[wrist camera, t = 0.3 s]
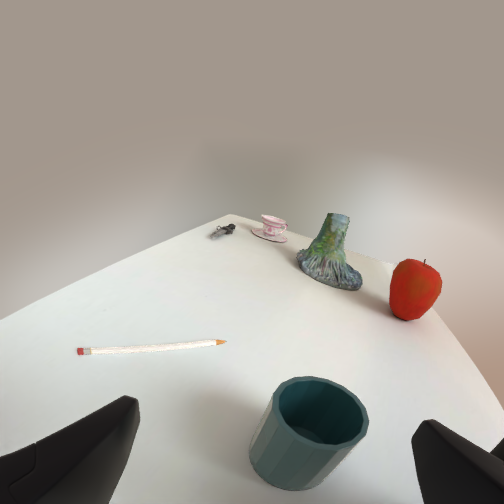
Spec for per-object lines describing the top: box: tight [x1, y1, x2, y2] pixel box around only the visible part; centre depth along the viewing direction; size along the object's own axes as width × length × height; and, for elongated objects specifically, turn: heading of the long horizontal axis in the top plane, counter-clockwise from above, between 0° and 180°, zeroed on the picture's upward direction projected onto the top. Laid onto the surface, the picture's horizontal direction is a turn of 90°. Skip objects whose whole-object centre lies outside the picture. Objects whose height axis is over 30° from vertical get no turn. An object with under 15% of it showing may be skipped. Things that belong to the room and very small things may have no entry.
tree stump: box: [297, 213, 362, 290], centre depth 74 cm, size 18×20×18 cm
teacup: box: [252, 215, 288, 242], centre depth 95 cm, size 12×12×6 cm
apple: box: [389, 259, 442, 320], centre depth 55 cm, size 12×12×14 cm
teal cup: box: [249, 376, 369, 491], centre depth 19 cm, size 8×8×7 cm
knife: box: [210, 224, 235, 237], centre depth 84 cm, size 19×2×5 cm
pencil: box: [78, 340, 226, 355], centre depth 30 cm, size 1×19×1 cm, turn 122°
